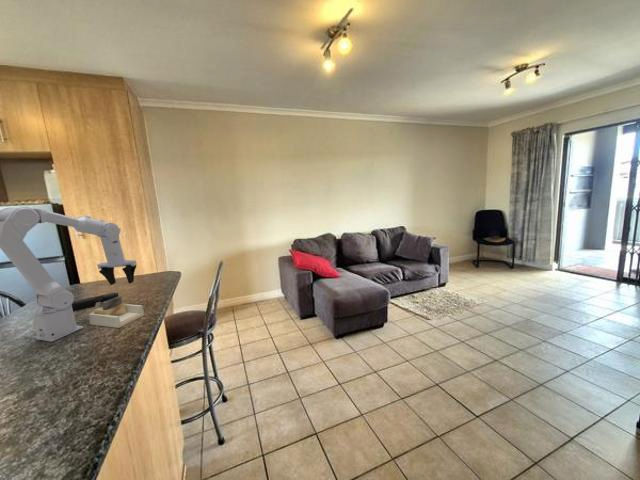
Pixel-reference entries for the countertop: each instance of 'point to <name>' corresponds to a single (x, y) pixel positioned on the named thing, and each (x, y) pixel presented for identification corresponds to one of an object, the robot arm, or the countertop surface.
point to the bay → (117, 317)
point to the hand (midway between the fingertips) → (122, 283)
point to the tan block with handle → (112, 307)
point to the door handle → (92, 301)
